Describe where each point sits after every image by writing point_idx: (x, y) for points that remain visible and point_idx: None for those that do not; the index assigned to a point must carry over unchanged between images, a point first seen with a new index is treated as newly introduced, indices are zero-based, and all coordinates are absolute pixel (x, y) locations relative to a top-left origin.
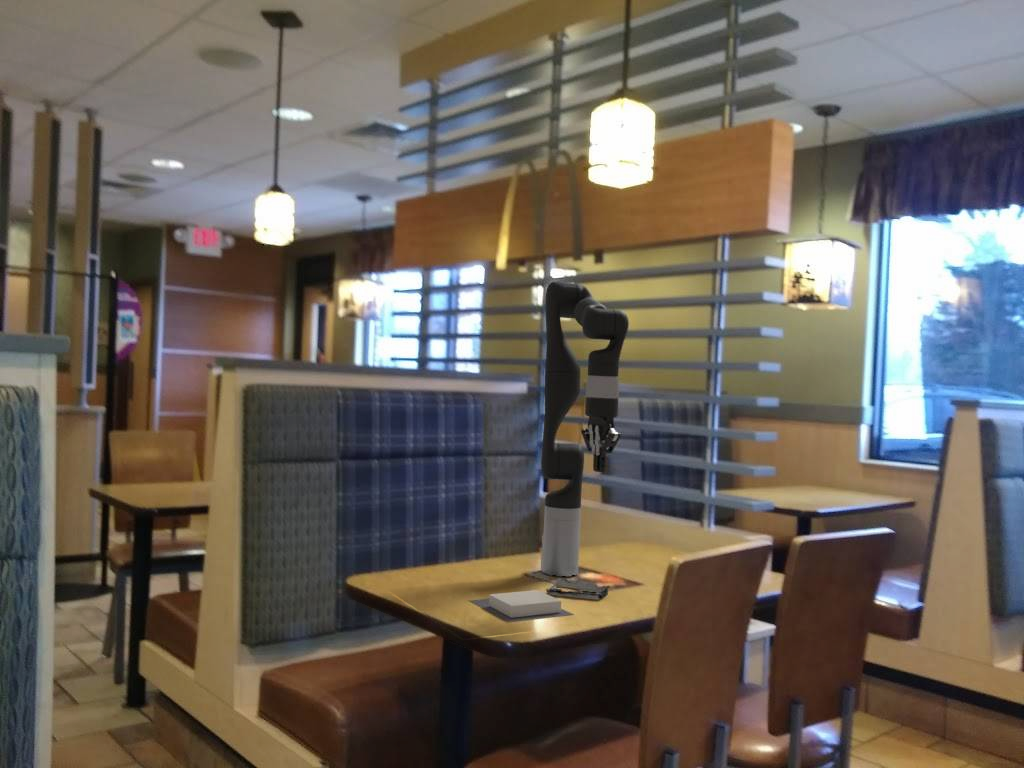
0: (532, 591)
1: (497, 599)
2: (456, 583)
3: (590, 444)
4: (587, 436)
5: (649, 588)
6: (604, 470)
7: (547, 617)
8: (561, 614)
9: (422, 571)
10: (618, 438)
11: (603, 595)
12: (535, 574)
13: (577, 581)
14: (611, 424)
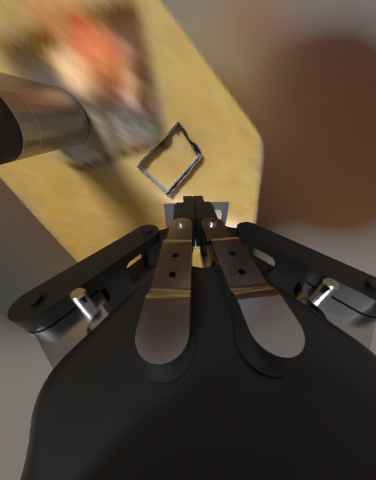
0: None
1: (198, 247)
2: (115, 237)
3: (150, 272)
4: (113, 303)
5: (162, 14)
6: (202, 196)
7: (225, 222)
8: (223, 210)
9: (74, 245)
10: (358, 276)
11: (186, 137)
12: (75, 156)
13: (151, 151)
14: (369, 393)
